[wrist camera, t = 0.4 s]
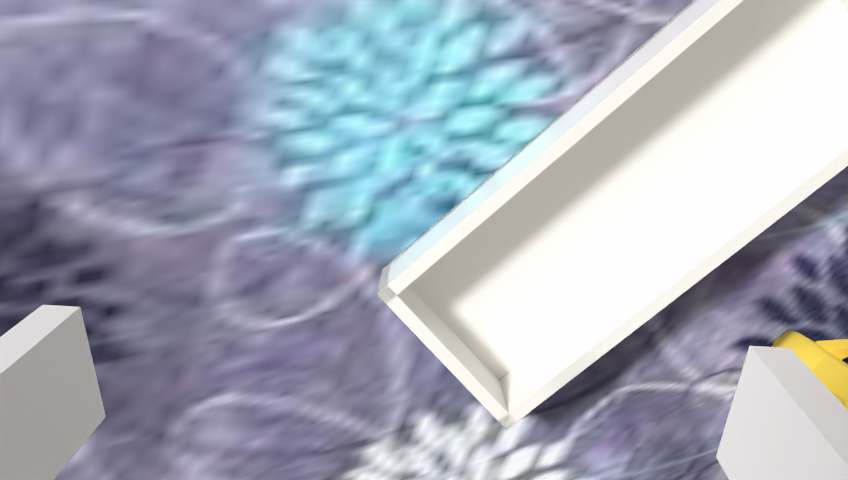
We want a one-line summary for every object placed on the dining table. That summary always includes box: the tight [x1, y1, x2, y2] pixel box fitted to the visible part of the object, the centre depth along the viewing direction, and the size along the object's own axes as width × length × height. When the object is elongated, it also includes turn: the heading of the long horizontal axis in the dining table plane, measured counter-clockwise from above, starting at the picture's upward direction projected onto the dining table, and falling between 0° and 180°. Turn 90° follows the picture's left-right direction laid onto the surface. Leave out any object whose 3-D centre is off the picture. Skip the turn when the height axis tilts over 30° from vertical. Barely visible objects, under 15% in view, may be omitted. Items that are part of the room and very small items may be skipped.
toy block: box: [771, 329, 848, 410], centre depth 37 cm, size 8×6×5 cm
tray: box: [377, 0, 848, 430], centre depth 34 cm, size 32×12×5 cm, turn 132°
